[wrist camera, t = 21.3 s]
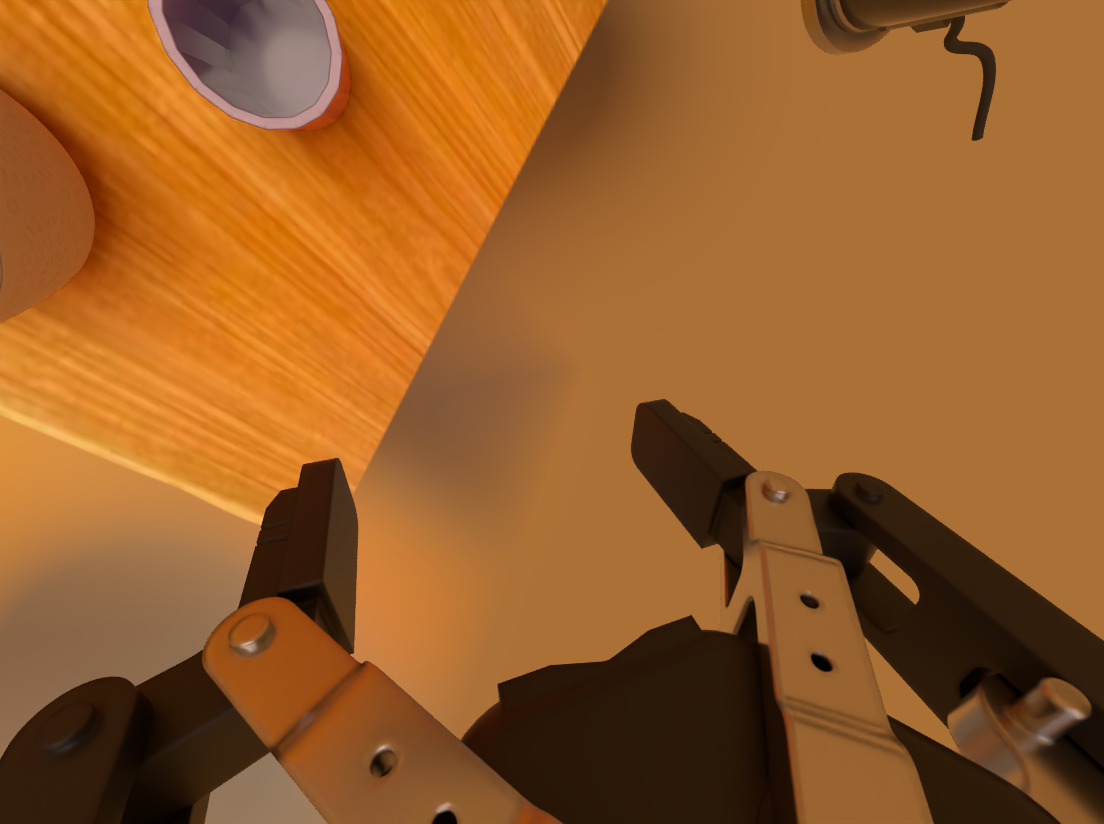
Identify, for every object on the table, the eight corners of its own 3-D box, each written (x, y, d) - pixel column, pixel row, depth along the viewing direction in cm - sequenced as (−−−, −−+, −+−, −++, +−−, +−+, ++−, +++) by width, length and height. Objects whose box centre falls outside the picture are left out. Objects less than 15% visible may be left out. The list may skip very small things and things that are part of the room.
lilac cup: (358, 26, 25) (351, -22, 17) (343, 147, 28) (331, 153, 20) (223, -39, 22) (141, -134, 14) (221, 102, 25) (150, 88, 17)
